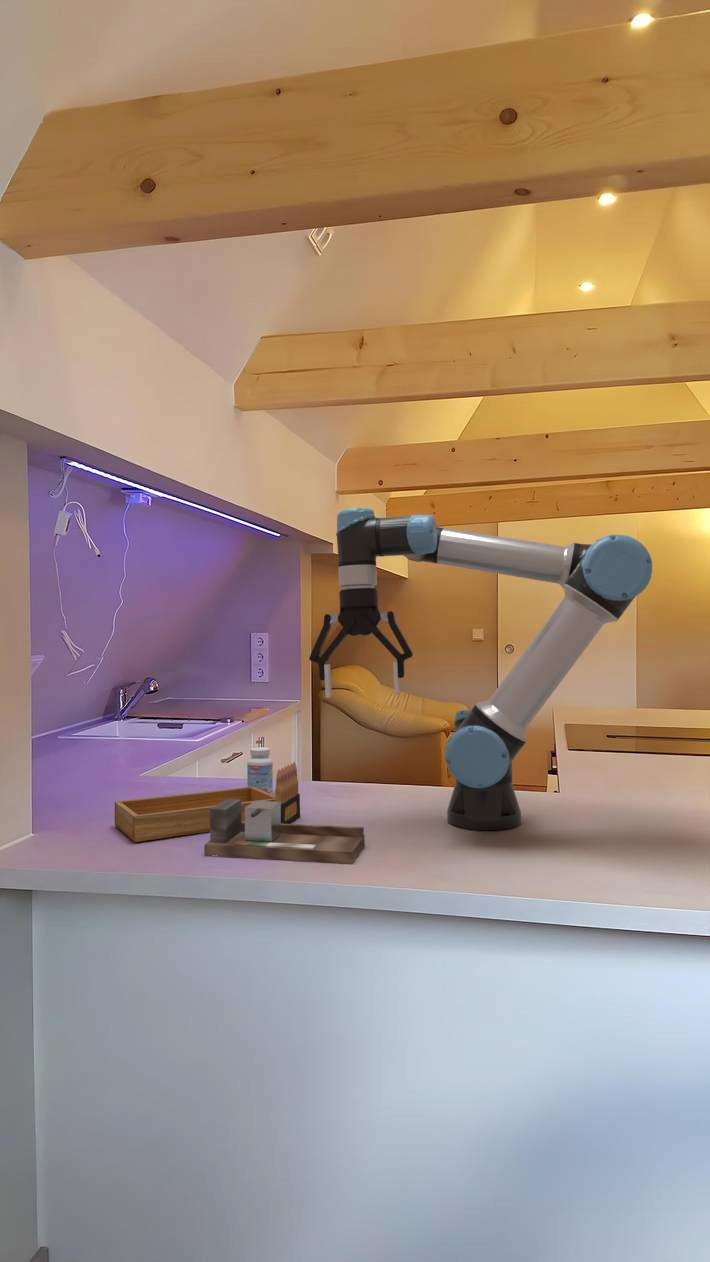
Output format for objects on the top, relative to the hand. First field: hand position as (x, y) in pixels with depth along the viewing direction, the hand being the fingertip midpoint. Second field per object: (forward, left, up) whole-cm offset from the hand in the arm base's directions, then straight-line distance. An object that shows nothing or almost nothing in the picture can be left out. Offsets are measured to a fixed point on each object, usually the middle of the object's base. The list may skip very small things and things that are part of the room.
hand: (362, 696), depth 153 cm
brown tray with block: (+12, +14, -27) cm, 33 cm away
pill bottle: (+31, -29, -27) cm, 50 cm away
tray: (+35, -1, -28) cm, 45 cm away
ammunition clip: (+17, -5, -27) cm, 32 cm away
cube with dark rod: (+16, +16, -25) cm, 33 cm away
